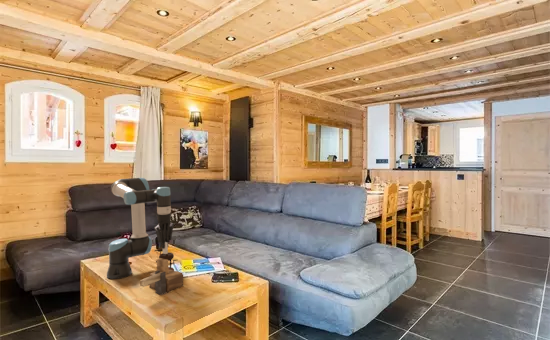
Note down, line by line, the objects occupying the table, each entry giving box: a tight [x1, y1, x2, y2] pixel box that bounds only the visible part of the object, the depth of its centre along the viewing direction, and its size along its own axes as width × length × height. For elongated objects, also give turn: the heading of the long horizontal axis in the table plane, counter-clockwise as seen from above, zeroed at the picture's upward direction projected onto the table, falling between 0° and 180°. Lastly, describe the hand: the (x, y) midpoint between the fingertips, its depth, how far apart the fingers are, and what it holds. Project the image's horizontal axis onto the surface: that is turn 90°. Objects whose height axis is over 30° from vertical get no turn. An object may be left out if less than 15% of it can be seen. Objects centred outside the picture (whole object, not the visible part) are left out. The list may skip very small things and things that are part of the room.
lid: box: [149, 257, 184, 281], centre depth 190 cm, size 16×11×9 cm
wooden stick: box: [139, 272, 162, 288], centre depth 176 cm, size 3×14×3 cm, turn 150°
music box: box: [153, 246, 177, 271], centre depth 210 cm, size 15×11×20 cm
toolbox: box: [148, 270, 184, 296], centre depth 188 cm, size 16×16×12 cm
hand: (165, 253), depth 184 cm, fingers closed
